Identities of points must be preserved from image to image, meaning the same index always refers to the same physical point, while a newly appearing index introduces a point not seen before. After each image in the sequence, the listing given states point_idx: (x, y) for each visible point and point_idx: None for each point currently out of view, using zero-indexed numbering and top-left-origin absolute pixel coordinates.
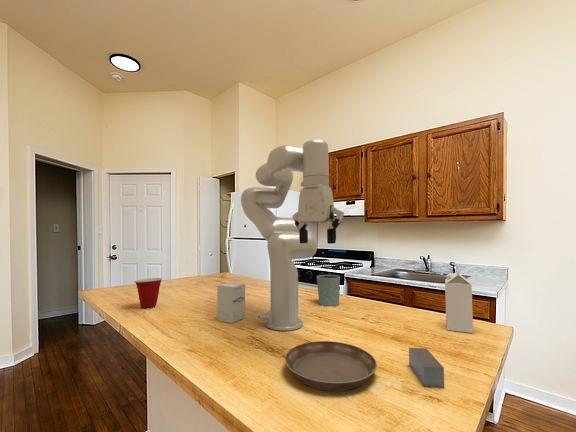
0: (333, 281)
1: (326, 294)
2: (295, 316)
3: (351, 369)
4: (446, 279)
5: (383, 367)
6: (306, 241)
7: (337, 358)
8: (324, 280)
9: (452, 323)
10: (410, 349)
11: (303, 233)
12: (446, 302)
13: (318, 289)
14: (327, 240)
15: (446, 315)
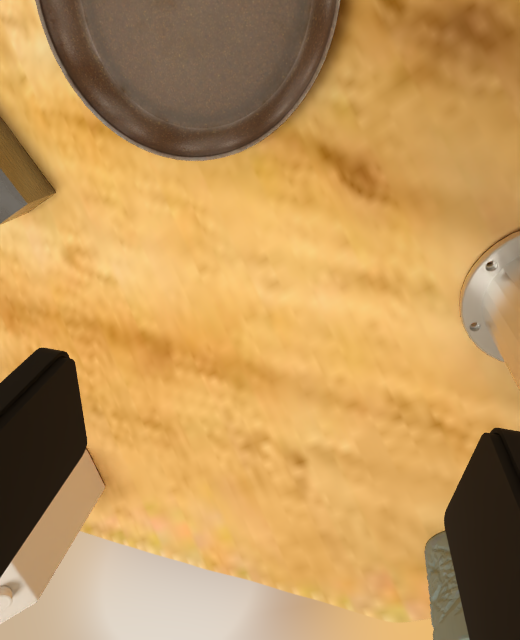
0: (451, 627)
1: None
2: (493, 309)
3: (142, 47)
4: (27, 598)
5: (92, 134)
6: (454, 512)
7: (211, 97)
8: None
9: None
10: (17, 191)
11: (514, 586)
12: (48, 509)
13: None
14: (50, 371)
15: (78, 488)
